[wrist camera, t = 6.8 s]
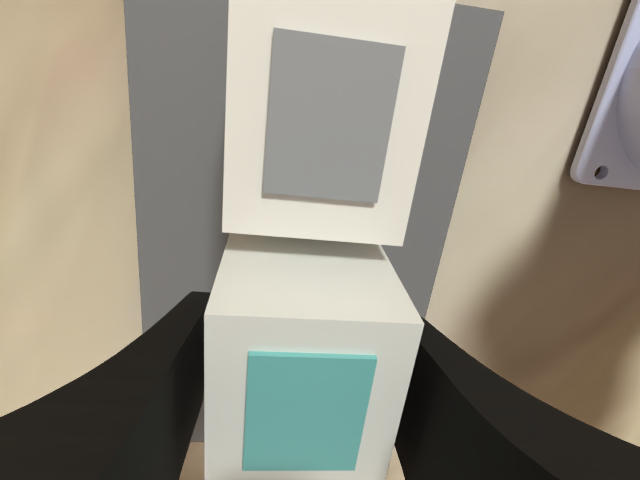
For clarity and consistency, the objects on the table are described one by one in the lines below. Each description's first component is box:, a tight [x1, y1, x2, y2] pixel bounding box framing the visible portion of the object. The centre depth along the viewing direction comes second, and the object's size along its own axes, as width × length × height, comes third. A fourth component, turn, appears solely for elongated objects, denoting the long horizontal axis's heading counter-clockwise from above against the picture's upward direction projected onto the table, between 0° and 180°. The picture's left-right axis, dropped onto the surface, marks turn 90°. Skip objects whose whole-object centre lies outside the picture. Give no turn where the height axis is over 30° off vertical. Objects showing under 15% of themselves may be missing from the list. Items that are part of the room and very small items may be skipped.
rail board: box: [124, 0, 504, 442], centre depth 13 cm, size 11×18×6 cm, turn 173°
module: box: [204, 233, 424, 480], centre depth 11 cm, size 4×4×7 cm
